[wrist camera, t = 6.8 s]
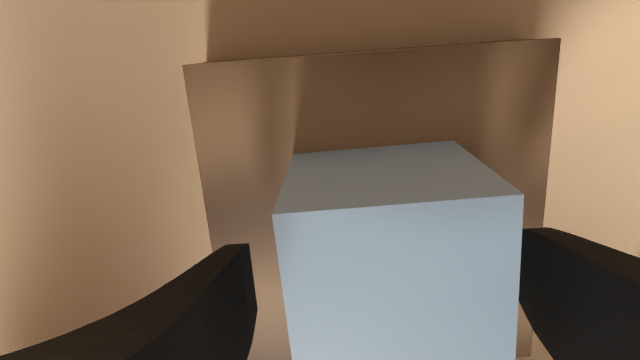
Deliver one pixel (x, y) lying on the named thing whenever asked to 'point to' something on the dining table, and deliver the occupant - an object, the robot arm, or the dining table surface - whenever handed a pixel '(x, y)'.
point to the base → (362, 134)
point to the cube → (399, 255)
